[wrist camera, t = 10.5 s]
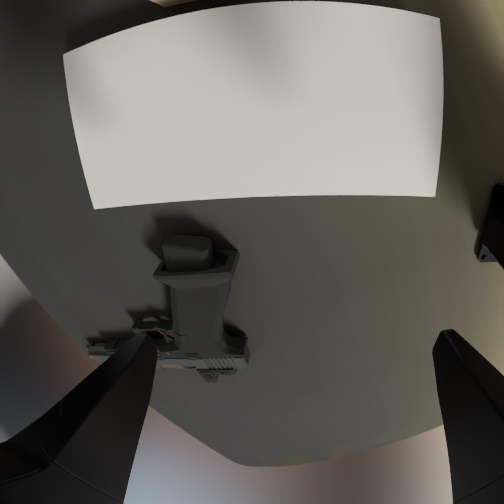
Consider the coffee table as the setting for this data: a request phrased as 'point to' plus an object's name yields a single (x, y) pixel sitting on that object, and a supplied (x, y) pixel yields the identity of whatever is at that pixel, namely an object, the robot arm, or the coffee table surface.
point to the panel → (260, 104)
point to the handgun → (192, 311)
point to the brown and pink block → (170, 2)
